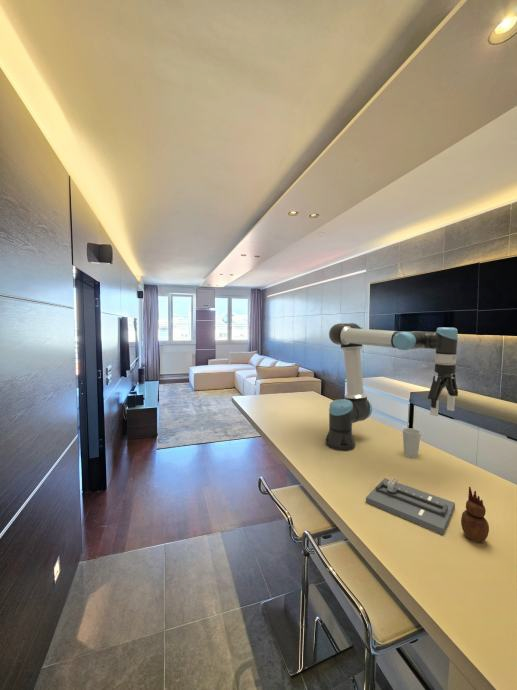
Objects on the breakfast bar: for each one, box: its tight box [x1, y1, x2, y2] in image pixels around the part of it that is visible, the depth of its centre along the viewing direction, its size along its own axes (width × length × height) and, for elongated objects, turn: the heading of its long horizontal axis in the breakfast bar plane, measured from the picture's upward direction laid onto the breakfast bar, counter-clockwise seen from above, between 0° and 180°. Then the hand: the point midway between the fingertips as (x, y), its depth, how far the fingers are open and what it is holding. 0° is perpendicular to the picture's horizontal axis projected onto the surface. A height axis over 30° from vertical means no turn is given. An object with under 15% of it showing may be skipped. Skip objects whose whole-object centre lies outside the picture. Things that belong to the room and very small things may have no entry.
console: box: [365, 478, 456, 536], centre depth 104 cm, size 24×18×4 cm
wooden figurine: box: [460, 486, 490, 544], centre depth 88 cm, size 7×6×15 cm
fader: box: [387, 477, 398, 495], centre depth 108 cm, size 3×4×5 cm, turn 137°
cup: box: [402, 427, 422, 459], centre depth 144 cm, size 8×8×12 cm
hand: (442, 412), depth 127 cm, fingers open, 13 cm apart
